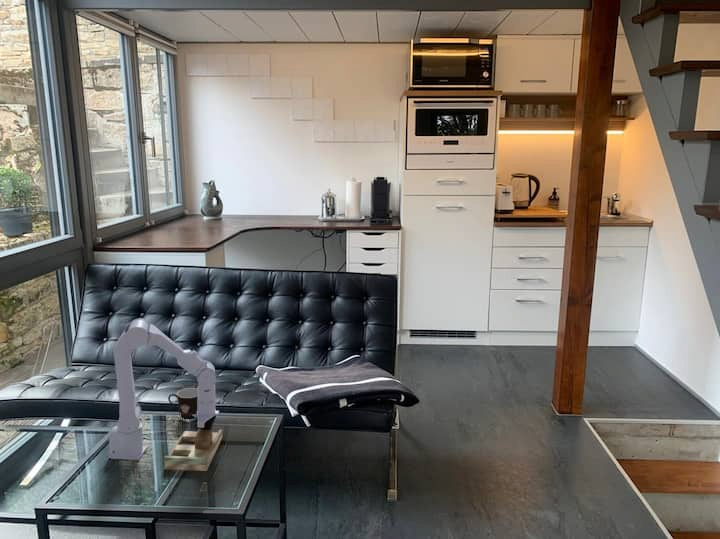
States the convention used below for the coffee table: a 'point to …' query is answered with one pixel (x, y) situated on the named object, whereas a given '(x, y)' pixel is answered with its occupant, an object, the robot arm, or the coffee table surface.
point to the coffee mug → (186, 402)
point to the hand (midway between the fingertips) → (206, 437)
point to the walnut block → (203, 439)
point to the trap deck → (191, 453)
